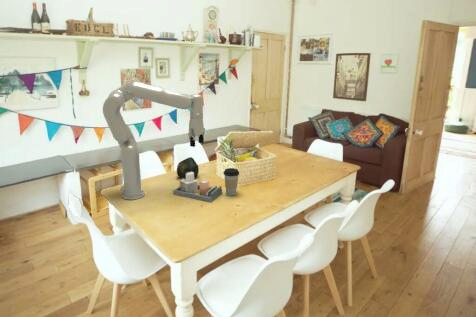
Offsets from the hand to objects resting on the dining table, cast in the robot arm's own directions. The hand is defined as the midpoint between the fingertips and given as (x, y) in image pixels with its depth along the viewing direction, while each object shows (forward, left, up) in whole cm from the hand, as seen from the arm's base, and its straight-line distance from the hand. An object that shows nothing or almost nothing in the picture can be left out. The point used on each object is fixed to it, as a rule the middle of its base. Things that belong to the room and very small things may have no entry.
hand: (197, 144), depth 191 cm
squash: (-16, +14, -29) cm, 36 cm away
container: (-2, -7, -28) cm, 29 cm away
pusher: (+14, -7, -28) cm, 32 cm away
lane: (+4, -7, -28) cm, 29 cm away
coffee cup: (+22, +2, -28) cm, 36 cm away
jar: (+9, -7, -28) cm, 30 cm away
